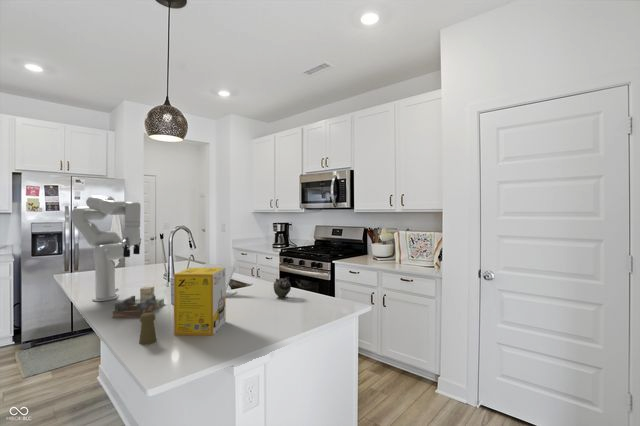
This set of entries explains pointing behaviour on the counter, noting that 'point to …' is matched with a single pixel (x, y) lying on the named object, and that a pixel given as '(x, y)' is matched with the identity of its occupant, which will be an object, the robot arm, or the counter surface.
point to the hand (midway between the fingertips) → (131, 255)
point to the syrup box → (172, 289)
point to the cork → (147, 329)
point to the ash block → (146, 292)
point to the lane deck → (136, 307)
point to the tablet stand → (228, 275)
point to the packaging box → (199, 301)
